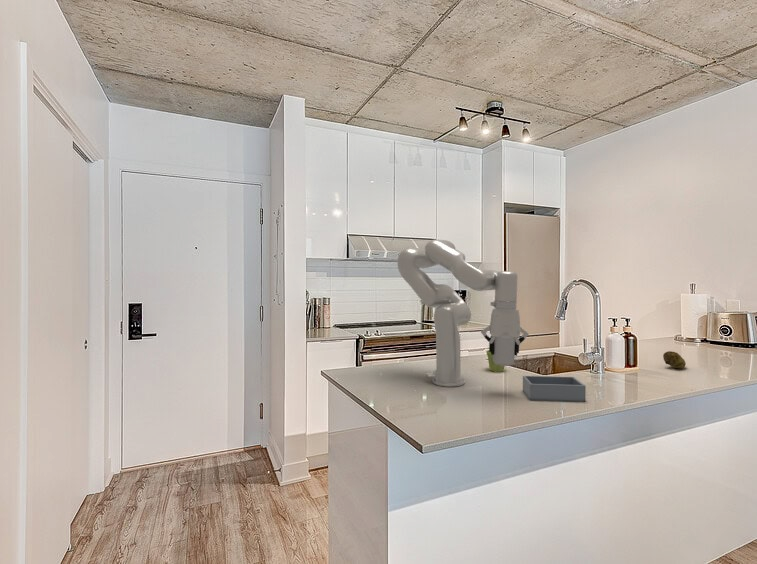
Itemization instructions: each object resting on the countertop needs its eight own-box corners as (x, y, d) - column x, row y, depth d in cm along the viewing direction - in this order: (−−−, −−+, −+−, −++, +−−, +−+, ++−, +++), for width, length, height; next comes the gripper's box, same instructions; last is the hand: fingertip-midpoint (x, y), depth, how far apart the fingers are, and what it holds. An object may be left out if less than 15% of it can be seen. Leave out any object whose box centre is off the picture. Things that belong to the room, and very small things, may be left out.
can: (515, 367, 146) (516, 333, 146) (493, 365, 148) (494, 332, 147) (513, 362, 154) (514, 330, 153) (491, 360, 155) (493, 328, 155)
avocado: (694, 369, 186) (695, 351, 186) (673, 371, 182) (674, 353, 182) (676, 365, 194) (676, 348, 194) (655, 367, 190) (656, 350, 190)
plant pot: (485, 372, 184) (485, 352, 183) (486, 367, 193) (486, 349, 192) (507, 373, 181) (507, 353, 181) (507, 369, 190) (507, 350, 190)
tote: (530, 400, 143) (530, 384, 143) (522, 390, 155) (522, 375, 155) (585, 401, 141) (585, 385, 141) (573, 391, 153) (573, 376, 153)
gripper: (481, 305, 147) (480, 355, 148) (533, 307, 145) (531, 358, 146) (479, 303, 155) (477, 351, 155) (528, 305, 152) (526, 353, 153)
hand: (503, 354), depth 151 cm, fingers closed on can, 7 cm apart
